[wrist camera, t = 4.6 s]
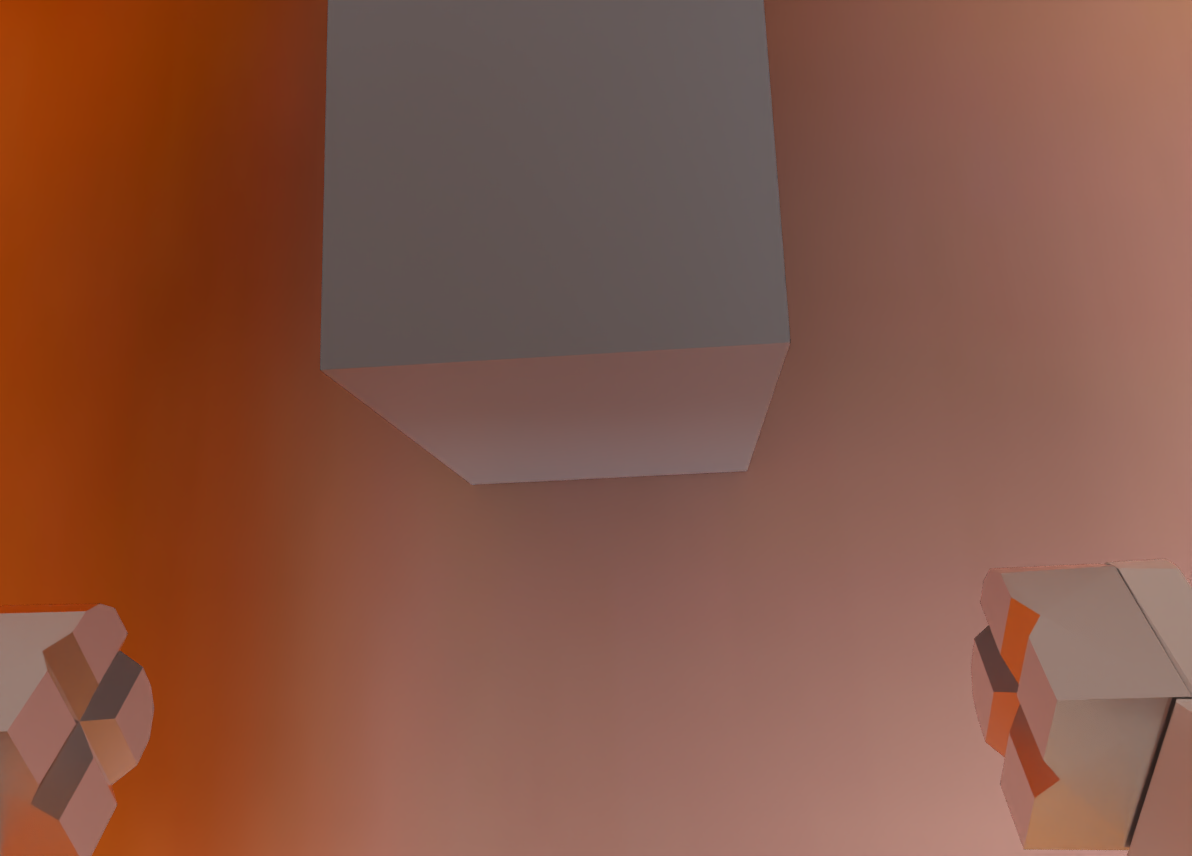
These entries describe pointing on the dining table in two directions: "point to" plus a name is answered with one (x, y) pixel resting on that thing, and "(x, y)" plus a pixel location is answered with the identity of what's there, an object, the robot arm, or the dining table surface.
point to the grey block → (555, 232)
